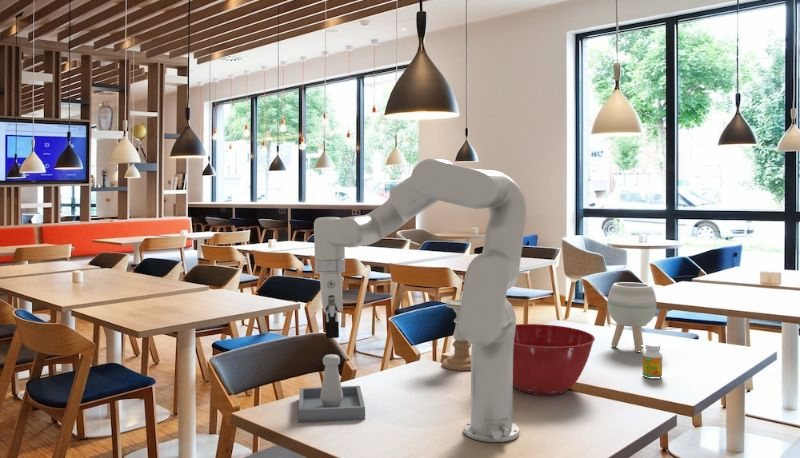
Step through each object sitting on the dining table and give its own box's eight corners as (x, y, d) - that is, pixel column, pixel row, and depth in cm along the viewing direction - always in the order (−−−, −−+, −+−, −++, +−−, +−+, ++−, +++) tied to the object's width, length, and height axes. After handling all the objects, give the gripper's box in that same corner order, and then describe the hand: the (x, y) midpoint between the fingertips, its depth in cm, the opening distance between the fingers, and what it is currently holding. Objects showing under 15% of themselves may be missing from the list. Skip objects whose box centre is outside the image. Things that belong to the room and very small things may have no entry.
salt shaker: (339, 410, 170) (338, 358, 169) (317, 408, 171) (316, 357, 170) (345, 402, 176) (345, 353, 175) (324, 401, 177) (324, 352, 176)
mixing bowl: (593, 377, 201) (594, 326, 200) (594, 408, 173) (595, 348, 172) (497, 371, 208) (498, 321, 207) (483, 399, 181) (483, 341, 180)
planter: (596, 346, 240) (597, 283, 239) (631, 341, 247) (632, 280, 246) (629, 356, 226) (631, 289, 224) (666, 351, 233) (667, 286, 231)
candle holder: (449, 372, 207) (450, 306, 206) (436, 362, 219) (437, 300, 217) (487, 369, 210) (487, 304, 209) (472, 359, 222) (473, 298, 221)
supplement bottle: (641, 378, 200) (641, 345, 200) (643, 373, 205) (644, 341, 205) (660, 380, 198) (661, 347, 197) (663, 376, 203) (663, 343, 202)
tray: (365, 419, 166) (365, 407, 165) (298, 422, 164) (298, 410, 163) (359, 396, 183) (359, 385, 183) (299, 399, 181) (299, 388, 181)
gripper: (346, 269, 163) (348, 340, 164) (343, 262, 180) (345, 326, 181) (315, 270, 162) (317, 341, 163) (314, 263, 179) (316, 327, 180)
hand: (331, 333), depth 172 cm, fingers open, 9 cm apart
